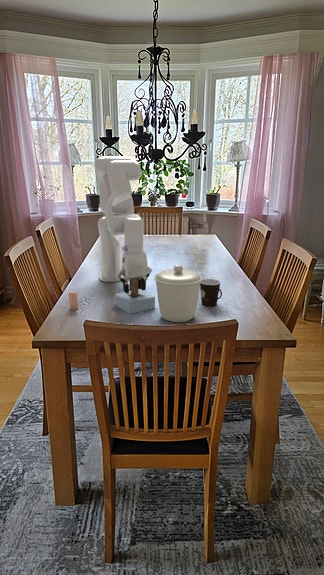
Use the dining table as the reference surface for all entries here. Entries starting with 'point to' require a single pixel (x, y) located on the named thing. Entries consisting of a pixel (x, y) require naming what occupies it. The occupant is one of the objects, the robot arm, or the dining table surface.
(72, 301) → the short dowel
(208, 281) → the coffee mug
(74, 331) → the dining table surface
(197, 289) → the canister
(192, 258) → the dining table surface
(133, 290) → the long dowel
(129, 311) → the hole block
